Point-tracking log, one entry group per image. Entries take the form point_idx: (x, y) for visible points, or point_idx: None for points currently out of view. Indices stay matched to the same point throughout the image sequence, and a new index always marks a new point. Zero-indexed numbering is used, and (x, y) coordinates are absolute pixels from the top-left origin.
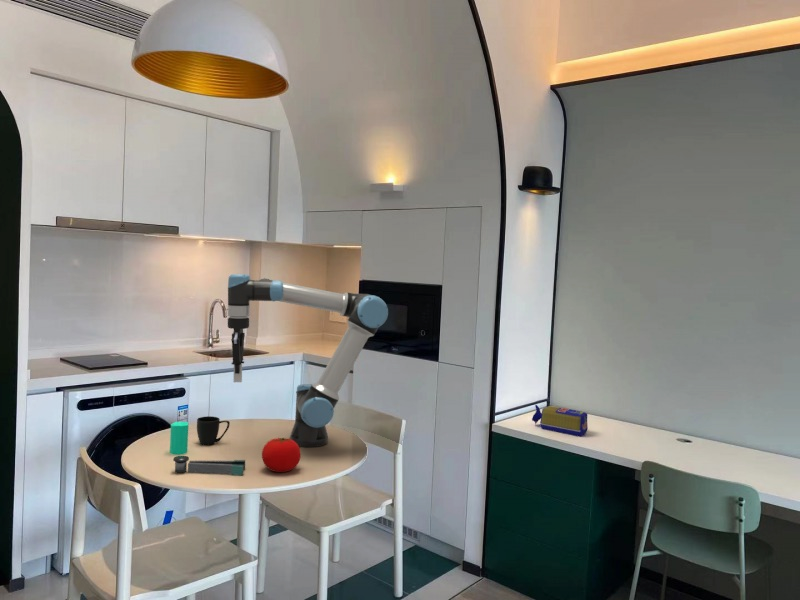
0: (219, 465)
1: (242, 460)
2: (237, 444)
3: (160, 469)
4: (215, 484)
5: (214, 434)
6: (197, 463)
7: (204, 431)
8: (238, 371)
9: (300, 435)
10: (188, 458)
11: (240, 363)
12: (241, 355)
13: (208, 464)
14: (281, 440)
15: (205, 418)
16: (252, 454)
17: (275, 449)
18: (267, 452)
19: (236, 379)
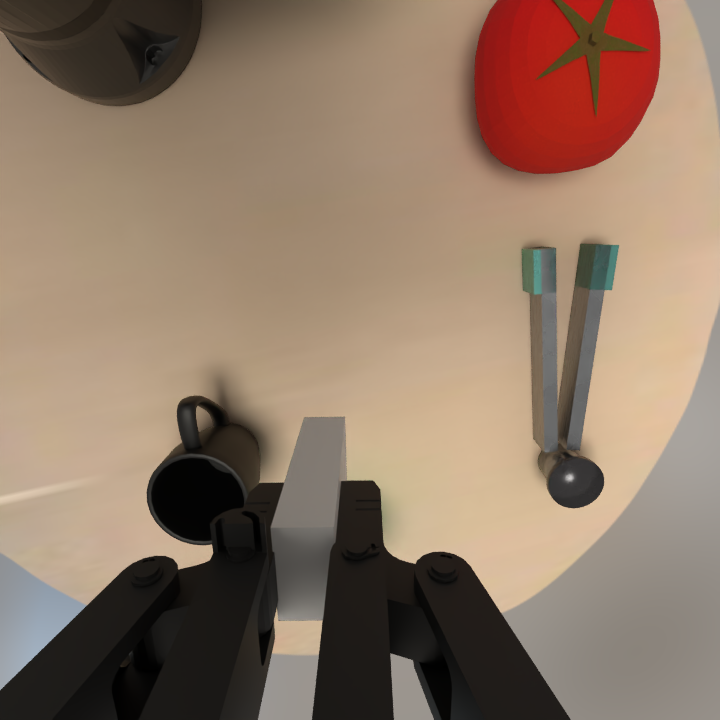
0: (595, 338)
1: (539, 260)
2: (220, 335)
3: (534, 522)
4: (688, 321)
5: (240, 438)
6: (578, 419)
7: (258, 481)
8: (380, 500)
9: (167, 19)
10: (580, 458)
11: (378, 547)
12: (239, 648)
13: (589, 379)
14: (604, 48)
15: (163, 516)
16: (343, 250)
17: (654, 83)
18: (633, 131)
19: (344, 472)
